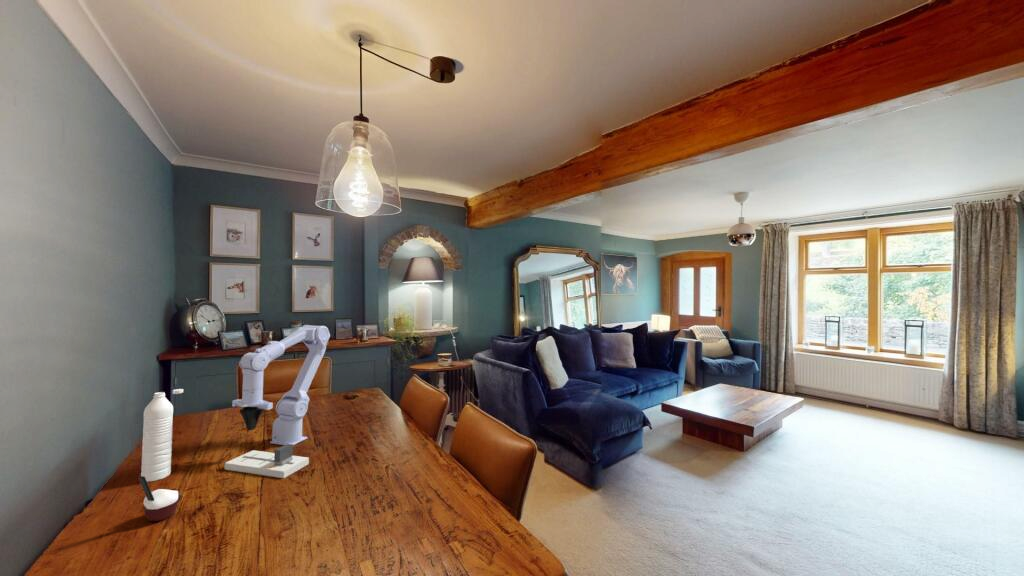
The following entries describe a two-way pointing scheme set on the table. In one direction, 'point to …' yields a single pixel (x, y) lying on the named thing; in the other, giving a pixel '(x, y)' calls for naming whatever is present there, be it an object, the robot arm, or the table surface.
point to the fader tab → (283, 454)
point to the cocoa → (159, 502)
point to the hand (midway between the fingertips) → (251, 429)
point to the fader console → (265, 464)
